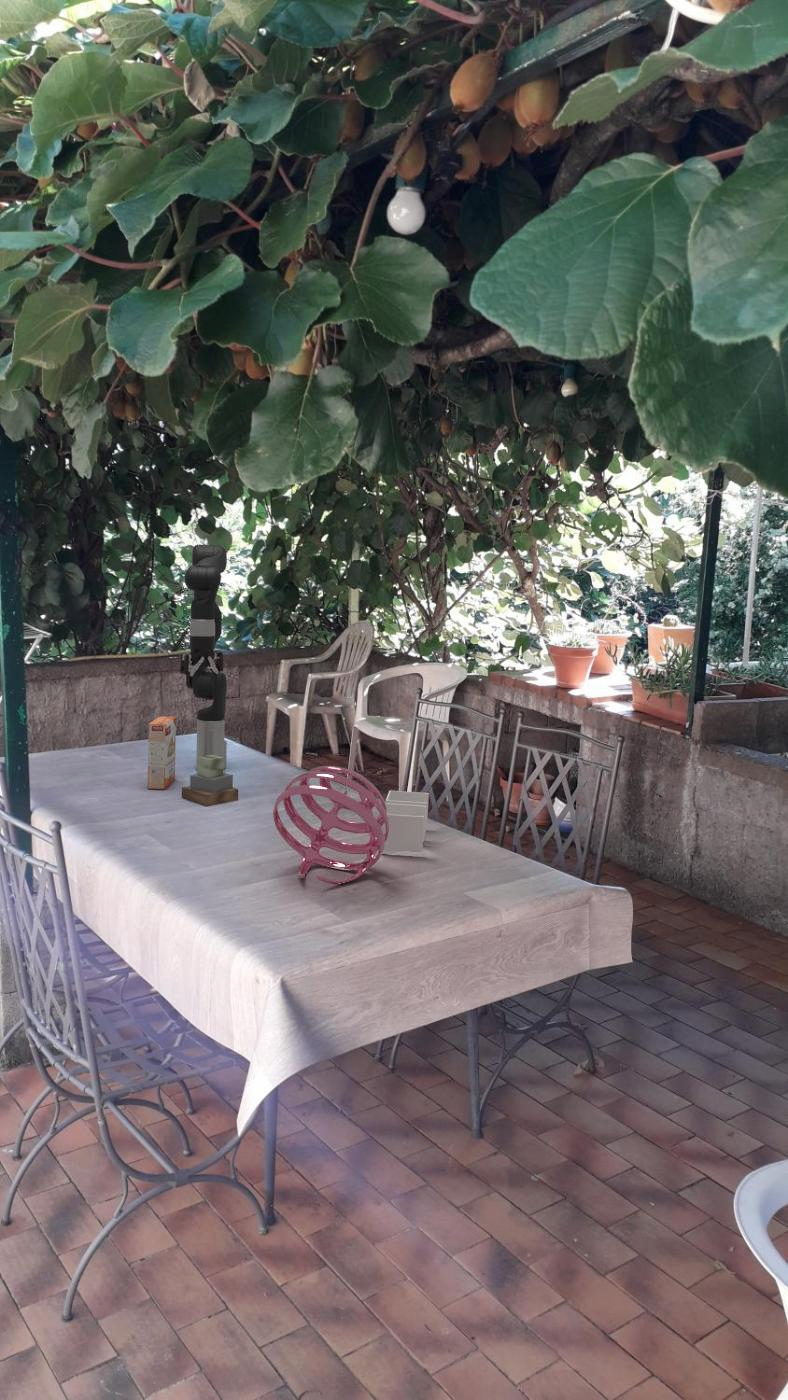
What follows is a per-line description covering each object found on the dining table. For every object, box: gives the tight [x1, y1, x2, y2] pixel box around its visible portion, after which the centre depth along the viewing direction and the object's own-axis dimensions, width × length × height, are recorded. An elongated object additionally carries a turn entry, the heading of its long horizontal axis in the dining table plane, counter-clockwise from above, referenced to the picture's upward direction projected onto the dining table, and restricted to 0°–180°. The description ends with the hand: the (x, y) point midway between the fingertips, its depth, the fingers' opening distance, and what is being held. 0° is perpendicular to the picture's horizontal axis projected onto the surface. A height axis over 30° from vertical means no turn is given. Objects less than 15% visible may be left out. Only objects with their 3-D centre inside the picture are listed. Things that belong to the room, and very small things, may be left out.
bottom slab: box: [181, 785, 239, 807], centre depth 314 cm, size 12×12×4 cm
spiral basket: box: [272, 765, 389, 885], centre depth 247 cm, size 28×28×27 cm
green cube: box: [196, 755, 225, 778], centre depth 312 cm, size 6×6×6 cm
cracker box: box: [147, 715, 177, 790], centre depth 328 cm, size 14×6×21 cm, turn 179°
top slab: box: [189, 772, 234, 793], centre depth 314 cm, size 9×9×4 cm
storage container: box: [381, 790, 430, 853], centre depth 278 cm, size 25×11×11 cm, turn 175°
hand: (201, 687), depth 316 cm, fingers open, 8 cm apart
